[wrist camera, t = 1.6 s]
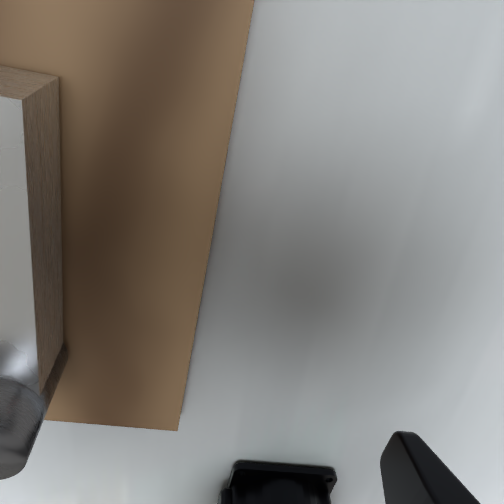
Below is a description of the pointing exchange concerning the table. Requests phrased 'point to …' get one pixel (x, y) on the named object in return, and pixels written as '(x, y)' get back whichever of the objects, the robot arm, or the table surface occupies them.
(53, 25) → the board
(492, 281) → the table surface
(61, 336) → the bar
